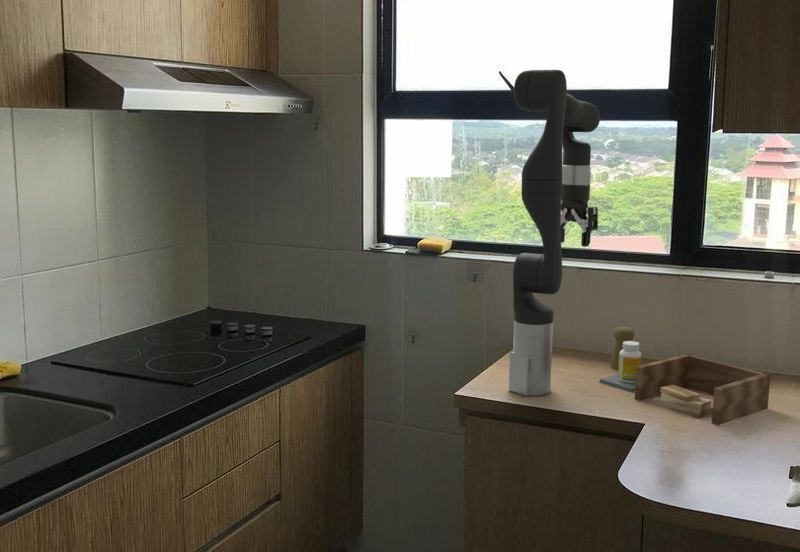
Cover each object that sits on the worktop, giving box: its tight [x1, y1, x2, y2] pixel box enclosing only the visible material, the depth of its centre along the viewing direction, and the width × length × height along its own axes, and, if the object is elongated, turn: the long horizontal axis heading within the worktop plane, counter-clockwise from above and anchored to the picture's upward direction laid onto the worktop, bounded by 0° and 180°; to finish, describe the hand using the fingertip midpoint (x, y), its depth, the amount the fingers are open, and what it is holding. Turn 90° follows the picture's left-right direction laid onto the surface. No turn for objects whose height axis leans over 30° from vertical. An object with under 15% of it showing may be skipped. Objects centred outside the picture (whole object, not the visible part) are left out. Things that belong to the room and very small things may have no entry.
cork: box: [610, 326, 635, 371], centre depth 232 cm, size 6×6×11 cm
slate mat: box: [599, 373, 636, 393], centre depth 219 cm, size 10×10×1 cm
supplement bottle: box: [617, 340, 642, 383], centre depth 218 cm, size 5×5×10 cm
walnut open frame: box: [634, 353, 771, 426], centre depth 204 cm, size 20×22×8 cm
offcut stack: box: [653, 385, 713, 419], centre depth 200 cm, size 6×12×4 cm, turn 37°
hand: (572, 244), depth 232 cm, fingers open, 8 cm apart
